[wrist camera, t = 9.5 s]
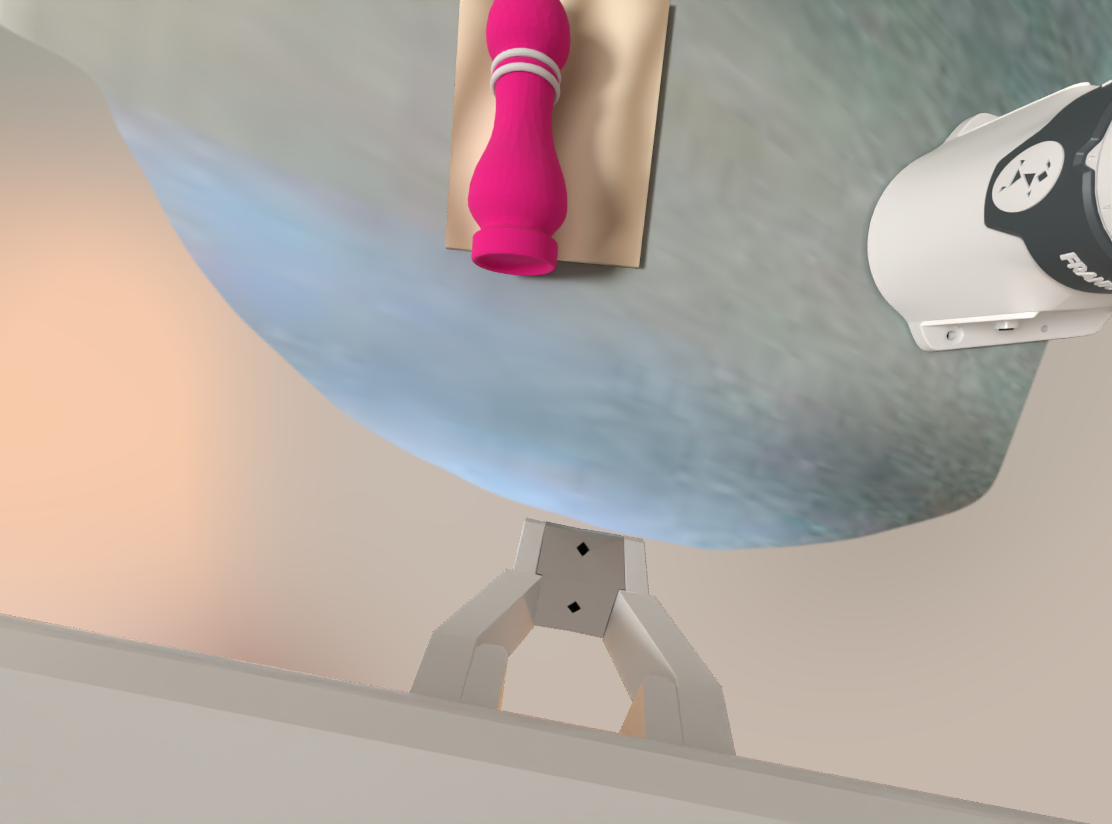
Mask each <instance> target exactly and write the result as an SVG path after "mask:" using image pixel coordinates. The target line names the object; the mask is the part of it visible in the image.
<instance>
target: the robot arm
mask: <svg viewBox="0 0 1112 824" xmlns="http://www.w3.org/2000/svg"><path fill="white" fill-rule="evenodd" d="M868 259H869V265H870V269H871V273H872V276H873V278H874V281H875V283H876V285H877V287H878V289H879V291H880V292H881V294H882V295H883V297H884V298H885V299H886V300H887V302H888V303H889V304H890V305H891V306H892V307H893V308H894V309H895V310H896V311H898V312H899V313H900V314H901V315H902V316H903V317H904V318H905V320H906V321H907V322H908V325H909V328H910V330H911V333H912V335H913V338H914V340H915V342H916V343H917V345H918V346H919V347H920V348H921V349H922V350H924V351H928V352H932V351H942V350H952V349H962V348H972V347H983V346H993V345H1003V344H1013V343H1023V342H1033V341H1043V340H1053V339H1062V338H1072V337H1080V336H1088V335H1092V334H1095V333H1096V332H1098V331H1099V330H1100V329H1101V328H1102V327H1103V326H1104V324H1105V323H1106V322H1107V321H1108V320H1109V319H1110V317H1111V316H1112V79H1111V80H1110V81H1108V82H1106V83H1104V84H1103V85H1102V86H1093V85H1090V83H1088V82H1085V83H1079V84H1075V85H1072V86H1069V87H1067V88H1065V89H1062V90H1060V91H1058V92H1055V93H1053V94H1051V95H1049V96H1046V97H1044V98H1042V99H1039V100H1037V101H1035V102H1033V103H1030V104H1028V105H1026V106H1023V107H1021V108H1019V109H1017V110H1014V111H1012V112H1010V113H1008V114H1005V115H1003V116H1001V117H997V116H994V115H991V114H988V113H981V114H978V115H975V116H973V117H971V118H969V119H967V120H965V121H963V122H962V123H961V124H960V125H959V126H958V127H957V128H956V129H955V130H954V131H953V132H952V133H951V134H950V136H949V137H948V138H947V139H946V141H945V142H944V143H943V144H942V145H941V146H939V147H938V148H936V149H935V150H933V151H931V152H929V153H928V154H926V155H924V156H922V157H920V158H918V159H917V160H915V161H913V162H912V163H911V164H909V165H908V166H907V167H905V168H904V169H903V170H902V171H901V172H900V173H899V174H898V175H897V176H896V177H895V178H894V179H893V180H892V181H891V183H890V184H889V185H888V187H887V188H886V189H885V191H884V192H883V194H882V196H881V197H880V199H879V201H878V203H877V206H876V208H875V210H874V213H873V216H872V219H871V223H870V228H869V234H868ZM947 333H948V334H949V337H948V339H947ZM544 527H545V529H544ZM534 625H536V626H542V627H549V628H554V629H561V630H567V631H572V632H577V633H581V634H586V635H591V636H596V637H600V638H603V642H604V644H605V646H606V648H607V650H608V652H609V654H610V656H611V658H612V660H613V663H614V665H615V667H616V669H617V671H618V673H619V675H620V677H621V679H622V681H623V683H624V685H625V688H626V690H627V692H628V694H629V696H630V698H631V700H632V702H633V703H632V706H631V708H630V710H629V712H628V714H627V717H626V719H625V721H624V723H623V725H622V727H621V730H620V732H619V733H616V732H611V731H605V730H600V729H595V728H589V727H584V726H580V725H574V724H569V723H564V722H559V721H554V720H548V719H543V718H538V717H532V716H527V715H522V714H517V713H512V712H507V711H501V704H502V697H503V689H504V683H505V675H506V668H507V661H508V657H509V656H510V655H511V654H512V652H513V651H514V650H515V649H516V648H517V646H518V645H519V644H520V643H521V642H522V640H523V639H524V638H525V637H526V636H527V634H528V633H529V632H530V631H531V630H532V629H533V627H534ZM0 824H1088V823H1082V822H1077V821H1072V820H1067V819H1062V818H1057V817H1051V816H1046V815H1041V814H1036V813H1031V812H1025V811H1020V810H1015V809H1010V808H1004V807H1000V806H994V805H989V804H983V803H979V802H974V801H968V800H963V799H958V798H953V797H948V796H942V795H937V794H932V793H927V792H922V791H917V790H911V789H906V788H901V787H896V786H891V785H885V784H880V783H875V782H869V781H864V780H859V779H854V778H849V777H844V776H839V775H834V774H828V773H823V772H818V771H813V770H807V769H802V768H797V767H792V766H786V765H782V764H776V763H771V762H766V761H760V760H755V759H750V758H745V757H740V756H736V753H735V749H734V744H733V739H732V734H731V729H730V725H729V720H728V715H727V710H726V706H725V701H724V695H723V691H722V686H721V685H720V684H719V682H718V681H717V680H716V678H715V677H714V676H713V674H712V673H711V672H710V670H709V669H708V667H707V666H706V665H705V663H704V662H703V661H702V659H701V658H700V657H699V655H698V654H697V653H696V651H695V650H694V648H693V647H692V646H691V644H690V643H689V642H688V640H687V639H686V638H685V636H684V635H683V633H682V632H681V631H680V629H679V628H678V627H677V626H676V624H675V623H674V621H673V620H672V619H671V617H670V616H669V615H668V613H667V612H666V610H665V609H664V608H663V606H662V605H661V604H660V602H659V601H658V600H657V598H656V597H655V596H651V595H649V588H648V576H647V565H646V554H645V544H644V541H643V539H640V538H634V537H628V536H621V535H617V534H610V533H604V532H599V531H593V530H587V529H580V528H575V527H570V526H565V525H561V524H555V523H551V522H546V524H545V522H544V521H539V520H534V519H529V518H526V519H525V521H524V525H523V529H522V533H521V537H520V541H519V545H518V549H517V553H516V558H515V562H514V566H513V570H509V569H506V570H505V571H504V572H503V573H502V574H500V575H499V576H498V577H497V578H496V579H494V580H493V581H492V582H491V583H490V584H489V585H487V586H486V587H485V588H484V589H483V590H481V591H480V592H479V593H478V594H477V595H476V596H474V597H473V598H472V599H471V600H470V601H469V602H467V603H466V604H465V605H464V606H463V607H461V608H460V609H459V610H458V611H457V612H456V613H454V614H453V615H452V616H451V617H450V618H449V619H447V620H446V621H445V622H444V623H443V624H442V625H440V626H439V627H438V628H437V629H436V630H434V631H433V634H432V636H431V639H430V641H429V644H428V647H427V649H426V652H425V655H424V657H423V660H422V662H421V665H420V667H419V670H418V673H417V676H416V678H415V680H414V683H413V686H412V688H411V691H410V693H408V692H403V691H398V690H392V689H387V688H382V687H377V686H372V685H366V684H361V683H356V682H351V681H346V680H340V679H335V678H330V677H325V676H320V675H315V674H309V673H304V672H299V671H294V670H289V669H283V668H278V667H273V666H268V665H263V664H258V663H253V662H247V661H242V660H237V659H232V658H227V657H221V656H216V655H211V654H206V653H201V652H196V651H190V650H185V649H180V648H175V647H170V646H165V645H159V644H155V643H149V642H144V641H139V640H134V639H129V638H124V637H118V636H113V635H108V634H103V633H97V632H93V631H88V630H82V629H77V628H72V627H67V626H62V625H57V624H52V623H46V622H41V621H36V620H30V619H26V618H21V617H16V616H11V615H6V614H1V613H0Z"/></svg>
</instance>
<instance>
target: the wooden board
mask: <svg viewBox="0 0 1112 824" xmlns="http://www.w3.org/2000/svg"><path fill="white" fill-rule="evenodd" d="M493 2H494V0H460V12H459V28H458V45H457V61H456V78H455V94H454V111H453V127H452V144H451V160H450V177H449V193H448V210H447V226H446V243H445V247H446V248H447V249H453V250H463V251H472V241H473V235H474V234H475V233H476V232H477V231H479V230H481V229H480V227H479V225H478V224H477V223H476V221H475V220H474V218H473V216H472V215H471V213H470V210H469V207H468V193H469V186H470V182H471V179H472V176H473V173H474V170H475V167H476V165H477V163H478V162H479V160H480V158H481V156H482V154H483V152H484V151H485V149H486V147H487V144H488V142H489V140H490V138H491V134H492V131H493V127H494V119H495V111H496V98H495V96H494V95H493V93H492V91H491V88H490V80H491V77H492V76H491V65H492V62H493V61H492V59H491V57H490V55H489V52H488V48H487V43H486V25H487V19H488V14H489V11H490V8H491V6H492V4H493ZM560 2H561V3H562V5H563V7H564V9H565V11H566V14H567V17H568V21H569V24H570V38H571V43H570V51H569V55H568V59H567V62H566V64H565V65H564V67H563V68H562V70H561V71H560V74H561V83H560V97H559V100H558V101H557V103H556V104H555V105H554V106H553V111H552V134H553V140H554V146H555V150H556V154H557V158H558V161H559V164H560V167H561V170H562V173H563V176H564V179H565V184H566V190H567V216H566V219H565V221H564V223H563V224H562V225H561V227H560V228H559V229H558V230H557V231H556V232H555V233H554V234H553V235H552V238H553V239H554V240H555V241H556V242H557V244H558V256H557V260H559V261H569V262H579V263H588V264H598V265H608V266H617V267H627V268H637V269H638V268H639V262H640V254H641V245H642V236H643V228H644V219H645V211H646V202H647V194H648V185H649V176H650V168H651V159H652V151H653V142H654V133H655V125H656V116H657V108H658V99H659V90H660V82H661V73H662V65H663V56H664V48H665V39H666V30H667V22H668V13H669V5H670V0H560Z"/></svg>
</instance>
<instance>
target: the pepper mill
mask: <svg viewBox="0 0 1112 824" xmlns="http://www.w3.org/2000/svg"><path fill="white" fill-rule="evenodd" d="M486 43H487V48H488V52H489V55H490V57H491V59H492V61H493V62H492V65H491V76H492V77H491V80H490V88H491V91H492V93H493V95H494V96H495V98H496V111H495V119H494V127H493V131H492V134H491V138H490V140H489V142H488V144H487V147H486V149H485V151H484V152H483V154H482V156H481V158H480V160H479V162H478V163H477V165H476V167H475V170H474V173H473V176H472V179H471V182H470V186H469V193H468V207H469V210H470V213H471V215H472V216H473V218H474V220H475V221H476V223H477V224H478V225H479V227H480V229H481V230H479V231H477V232H476V233H475V234H474V235H473V241H472V261H473V262H474V263H475V264H476V265H478V266H479V267H481V268H484V269H487V270H490V271H494V272H498V273H504V274H511V275H522V276H535V275H544V274H548V273H551V272H553V271H554V270H555V269H556V267H557V256H558V244H557V242H556V241H555V240H554V239H553V238H552V235H553V234H554V233H555V232H556V231H557V230H558V229H559V228H560V227H561V225H562V224H563V223H564V221H565V219H566V216H567V190H566V184H565V179H564V176H563V173H562V170H561V167H560V164H559V161H558V158H557V154H556V150H555V146H554V140H553V134H552V111H553V106H554V105H555V104H556V103H557V101H558V100H559V97H560V83H561V74H560V71H561V70H562V68H563V67H564V65H565V64H566V62H567V59H568V55H569V51H570V43H571V38H570V24H569V21H568V17H567V14H566V11H565V9H564V7H563V5H562V3H561V2H560V0H494V2H493V4H492V6H491V8H490V11H489V14H488V19H487V25H486Z"/></svg>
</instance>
